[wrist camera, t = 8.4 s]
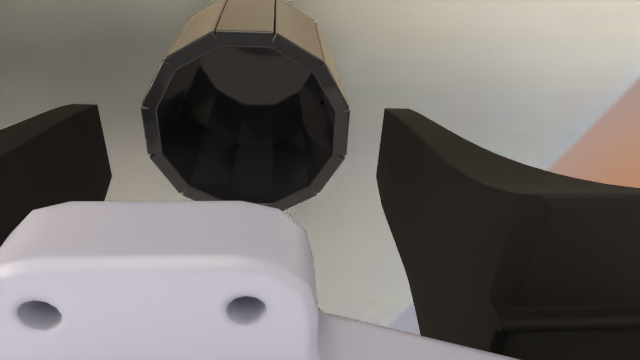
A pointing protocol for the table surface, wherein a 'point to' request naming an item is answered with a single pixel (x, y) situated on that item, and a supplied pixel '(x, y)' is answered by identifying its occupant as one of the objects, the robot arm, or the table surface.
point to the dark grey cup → (247, 106)
